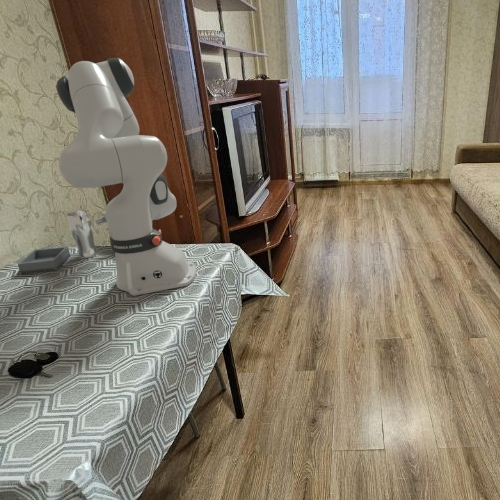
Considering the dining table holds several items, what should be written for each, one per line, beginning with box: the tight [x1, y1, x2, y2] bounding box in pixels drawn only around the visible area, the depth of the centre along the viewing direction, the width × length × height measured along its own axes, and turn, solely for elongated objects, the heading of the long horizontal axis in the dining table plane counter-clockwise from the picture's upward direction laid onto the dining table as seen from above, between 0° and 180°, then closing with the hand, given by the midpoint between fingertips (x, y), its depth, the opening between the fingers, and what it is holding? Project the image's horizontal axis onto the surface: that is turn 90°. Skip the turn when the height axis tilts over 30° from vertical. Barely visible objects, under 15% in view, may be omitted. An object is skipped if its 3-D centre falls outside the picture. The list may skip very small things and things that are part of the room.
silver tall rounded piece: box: [66, 209, 99, 259], centre depth 125 cm, size 7×7×15 cm
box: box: [17, 246, 71, 275], centre depth 123 cm, size 11×11×4 cm
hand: (102, 225), depth 130 cm, fingers open, 8 cm apart
